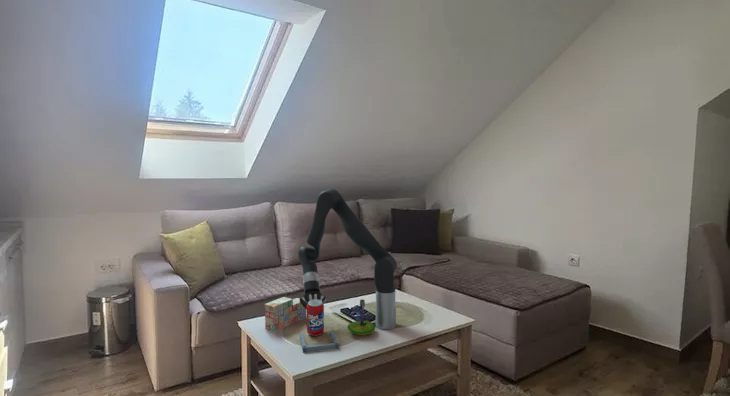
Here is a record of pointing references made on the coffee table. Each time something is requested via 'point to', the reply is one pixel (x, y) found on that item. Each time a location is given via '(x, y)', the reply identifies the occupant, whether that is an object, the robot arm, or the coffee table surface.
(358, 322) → the pirate figurine
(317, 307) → the soda can
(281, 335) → the coffee table surface
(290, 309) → the stack of blocks
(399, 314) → the coffee table surface
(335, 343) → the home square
